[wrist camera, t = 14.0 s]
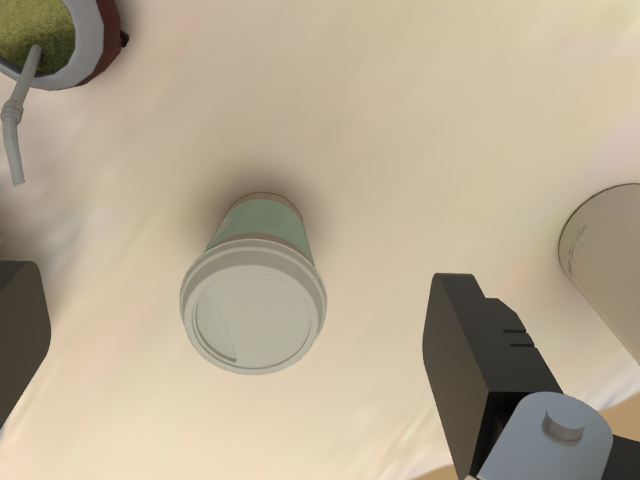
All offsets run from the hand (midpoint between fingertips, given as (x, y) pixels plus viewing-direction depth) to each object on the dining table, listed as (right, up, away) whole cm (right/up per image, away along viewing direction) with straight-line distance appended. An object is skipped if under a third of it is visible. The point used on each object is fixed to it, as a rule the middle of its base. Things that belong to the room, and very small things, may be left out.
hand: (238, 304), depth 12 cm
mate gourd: (-13, +15, +24) cm, 31 cm away
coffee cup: (-2, +2, +31) cm, 31 cm away
